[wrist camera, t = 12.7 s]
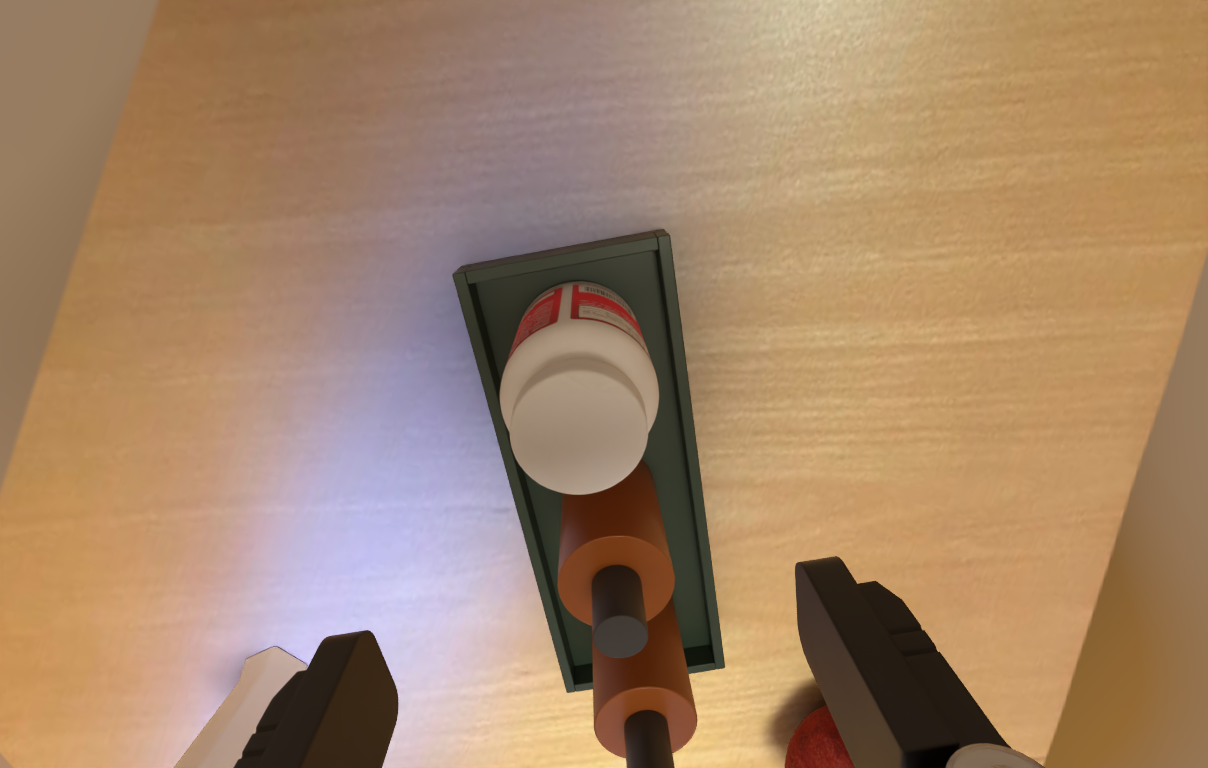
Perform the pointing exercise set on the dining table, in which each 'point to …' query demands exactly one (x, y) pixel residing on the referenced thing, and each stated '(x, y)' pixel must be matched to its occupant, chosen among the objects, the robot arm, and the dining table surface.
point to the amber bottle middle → (615, 562)
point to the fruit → (817, 743)
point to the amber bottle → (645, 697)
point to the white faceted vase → (241, 711)
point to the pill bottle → (579, 389)
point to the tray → (649, 289)
